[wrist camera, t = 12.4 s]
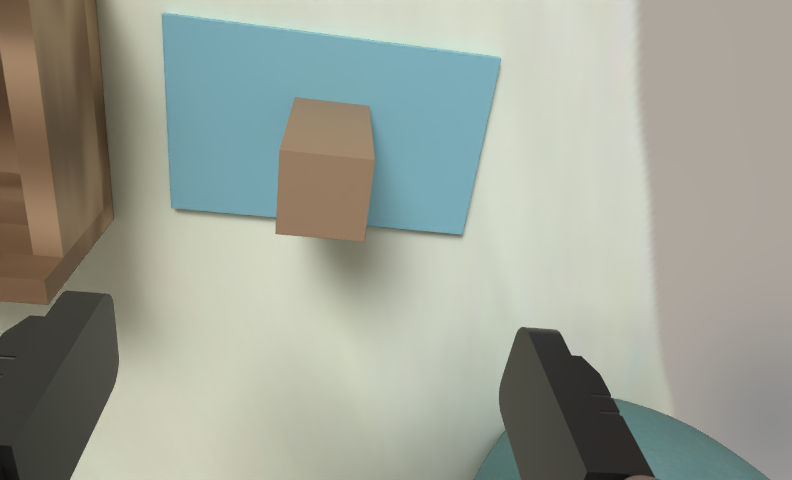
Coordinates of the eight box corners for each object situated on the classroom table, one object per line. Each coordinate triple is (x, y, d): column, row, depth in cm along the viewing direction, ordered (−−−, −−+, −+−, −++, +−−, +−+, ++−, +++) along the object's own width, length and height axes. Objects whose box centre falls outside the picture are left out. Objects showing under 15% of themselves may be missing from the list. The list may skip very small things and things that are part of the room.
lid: (167, 11, 22) (102, 46, 16) (496, 54, 24) (545, 101, 18) (176, 200, 26) (125, 284, 20) (459, 226, 28) (489, 311, 22)
